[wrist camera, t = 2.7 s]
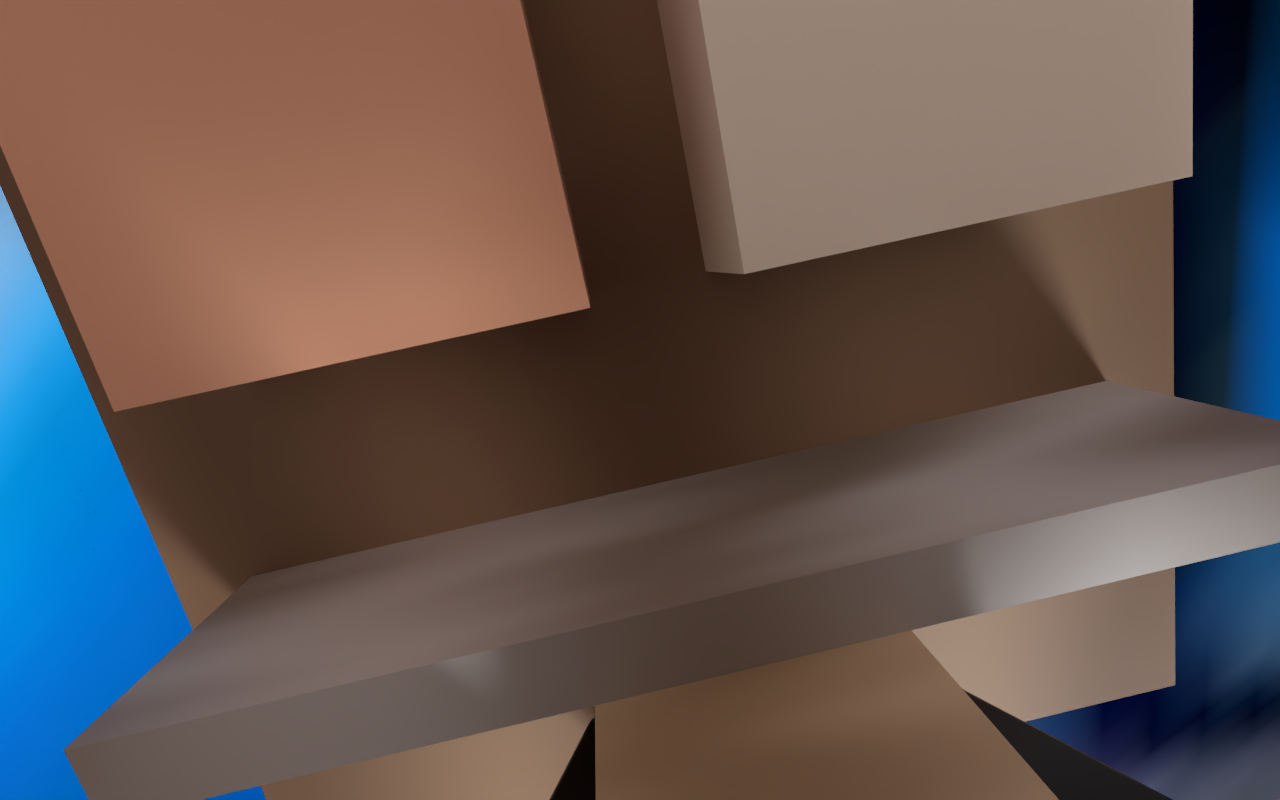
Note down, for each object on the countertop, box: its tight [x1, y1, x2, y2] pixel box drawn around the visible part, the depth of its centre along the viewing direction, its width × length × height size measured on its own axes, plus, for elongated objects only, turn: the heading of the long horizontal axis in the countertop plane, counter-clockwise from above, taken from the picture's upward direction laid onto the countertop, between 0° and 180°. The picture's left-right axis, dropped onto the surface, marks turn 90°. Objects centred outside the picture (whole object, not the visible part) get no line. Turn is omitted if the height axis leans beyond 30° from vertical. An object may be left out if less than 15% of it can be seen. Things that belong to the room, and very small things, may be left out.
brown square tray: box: [0, 0, 1175, 800], centre depth 10 cm, size 14×14×5 cm
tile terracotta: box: [0, 0, 590, 412], centre depth 6 cm, size 4×4×2 cm
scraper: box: [64, 381, 1280, 800], centre depth 6 cm, size 12×5×5 cm, turn 102°
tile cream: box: [657, 0, 1193, 274], centre depth 6 cm, size 4×4×2 cm
